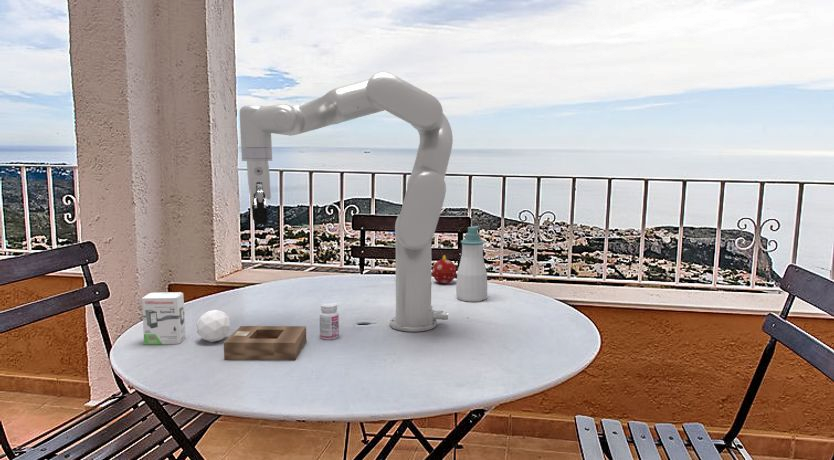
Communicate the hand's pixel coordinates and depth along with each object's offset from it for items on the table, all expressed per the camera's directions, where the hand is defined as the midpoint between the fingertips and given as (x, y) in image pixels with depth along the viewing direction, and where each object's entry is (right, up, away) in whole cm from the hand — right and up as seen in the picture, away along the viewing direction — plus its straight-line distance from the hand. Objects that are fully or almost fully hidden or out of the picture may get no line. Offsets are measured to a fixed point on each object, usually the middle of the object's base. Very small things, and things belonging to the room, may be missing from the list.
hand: (259, 221), depth 146 cm
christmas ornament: (+50, -21, +54) cm, 77 cm away
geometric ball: (-9, -30, -7) cm, 32 cm away
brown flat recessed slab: (+6, -30, -14) cm, 34 cm away
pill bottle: (+19, -29, -4) cm, 35 cm away
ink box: (-21, -30, -7) cm, 37 cm away
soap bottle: (+58, -24, +33) cm, 71 cm away
